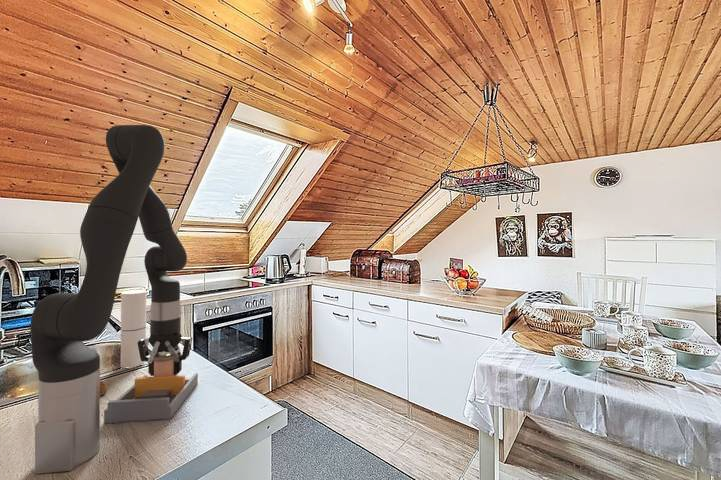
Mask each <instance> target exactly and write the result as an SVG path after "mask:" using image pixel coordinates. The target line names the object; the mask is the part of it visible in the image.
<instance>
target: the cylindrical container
mask: <svg viewBox="0 0 721 480" xmlns="http://www.w3.org/2000/svg"><path fill="white" fill-rule="evenodd" d="M143 338H146V339H147V290H146V289H145V290H144V289H140V290H139V289H138V290H137V289H136V290H135V289H134V290H133V289H132V290H126V291H122V292H121V293H120V368H121V369H125V368H126V367H135V368H137V367H136V366H139V365H142V364H144V363H145V362H146V361H141V359H140V353H139V348H138V341H140V340H141V339H143ZM146 363H147V362H146ZM146 363H145V364H146ZM145 364H144V365H145ZM142 366H143V365H142ZM139 367H140V366H139Z"/></svg>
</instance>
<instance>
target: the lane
mask: <svg viewBox="0 0 721 480" xmlns="http://www.w3.org/2000/svg"><path fill="white" fill-rule="evenodd" d="M142 377H148V374H147V375H143V376H142ZM198 378H199V375H198V373H197V372H196V373H194V374H193V375H192V376H191V377H187V378H186V377H185V386H184V387H183V388H182V390H181V391H180V392H179V393H178V395H171V396H170V397H167V398H149V399H142V397H135V383H134V384H133V385H131V386H130V387H129V389H127V390H125V392H124V393H122V394H121V395H120V396H119V397H118V398H117V399H114V400H109V401H108V402H107V407H106V408H105V409H104V410H103V424H104V425H105V424H120V423H121V424H122V423H132V422H133V423H136V422H152V421H153V420H154V421H165V420H166V421H167V420H172V418H174V416H175V415H176V413H177V412H178V410H179V409H180V408H181V407H182V405H183V404H184V402H185V401H186V400H187V398H188V397H189V396H190V395H191V393H192V392H193V390H194V389H195V388H196V387H197V385H198V383H199V382H198V381H199V380H198Z"/></svg>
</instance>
